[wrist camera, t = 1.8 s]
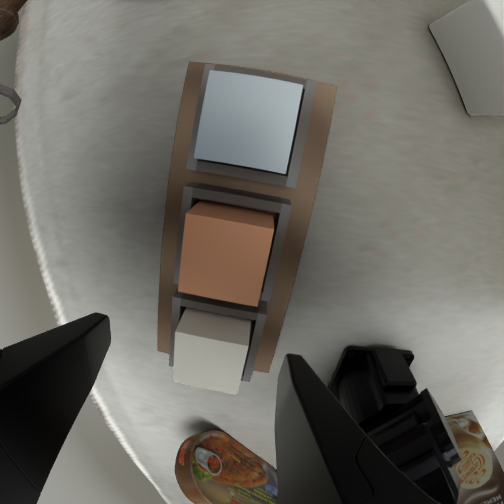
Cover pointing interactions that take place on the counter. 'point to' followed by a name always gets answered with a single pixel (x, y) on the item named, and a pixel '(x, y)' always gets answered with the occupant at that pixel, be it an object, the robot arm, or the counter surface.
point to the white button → (210, 350)
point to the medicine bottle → (475, 53)
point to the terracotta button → (225, 252)
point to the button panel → (248, 197)
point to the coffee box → (476, 462)
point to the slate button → (248, 120)
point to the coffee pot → (3, 25)
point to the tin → (223, 472)
